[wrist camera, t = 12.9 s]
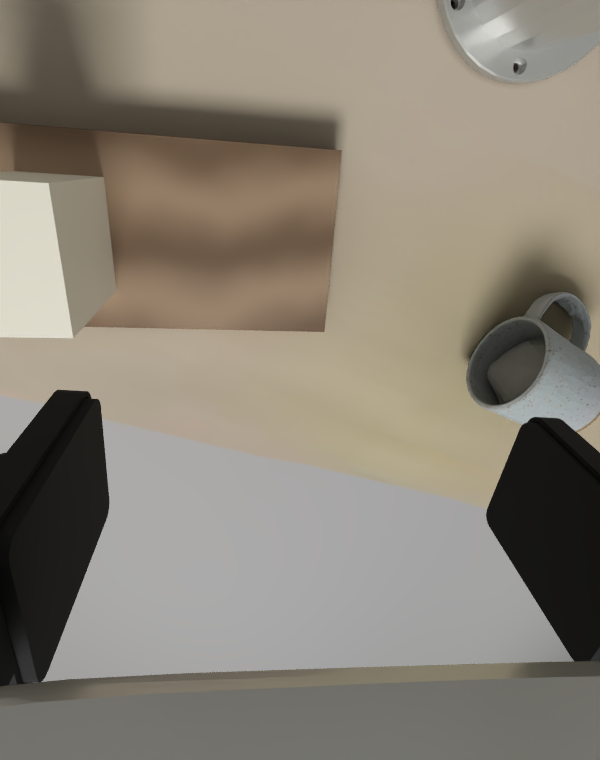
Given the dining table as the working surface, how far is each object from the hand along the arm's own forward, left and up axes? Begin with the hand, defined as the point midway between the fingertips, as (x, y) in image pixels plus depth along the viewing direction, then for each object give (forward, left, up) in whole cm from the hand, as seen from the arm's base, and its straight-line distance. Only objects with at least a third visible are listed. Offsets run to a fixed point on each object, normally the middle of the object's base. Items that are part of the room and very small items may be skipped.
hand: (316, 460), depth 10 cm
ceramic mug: (+7, +22, -25) cm, 34 cm away
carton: (-1, -12, -23) cm, 26 cm away
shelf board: (-1, -7, -25) cm, 26 cm away
